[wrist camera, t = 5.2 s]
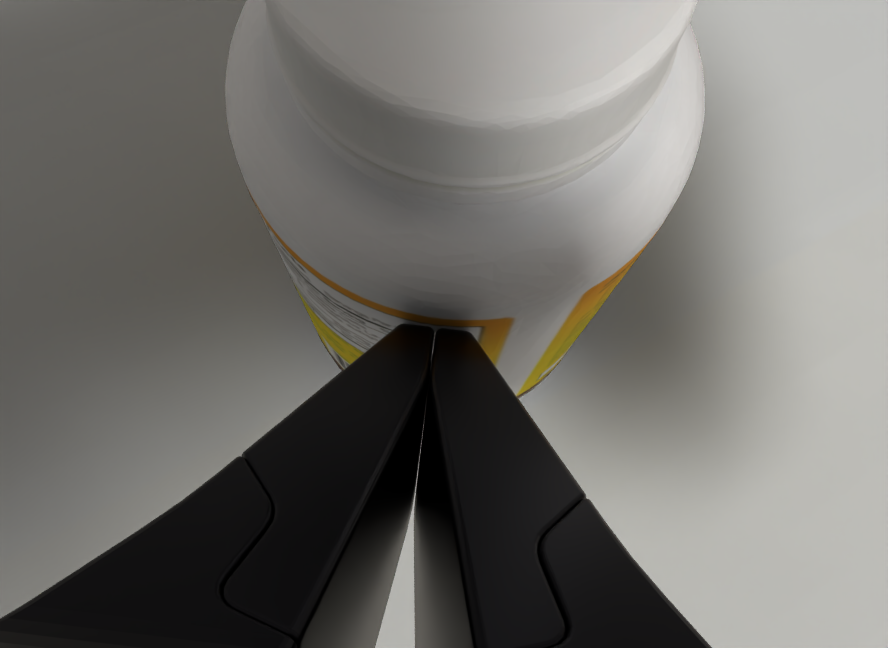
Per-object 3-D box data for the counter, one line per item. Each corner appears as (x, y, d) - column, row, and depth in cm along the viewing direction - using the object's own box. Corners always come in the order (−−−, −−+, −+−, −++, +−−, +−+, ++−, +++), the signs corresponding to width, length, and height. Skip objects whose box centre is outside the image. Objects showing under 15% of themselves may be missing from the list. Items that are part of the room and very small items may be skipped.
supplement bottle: (536, 149, 18) (692, -362, 8) (609, 389, 16) (913, 137, 6) (288, 199, 17) (113, -281, 7) (340, 452, 16) (209, 288, 6)
